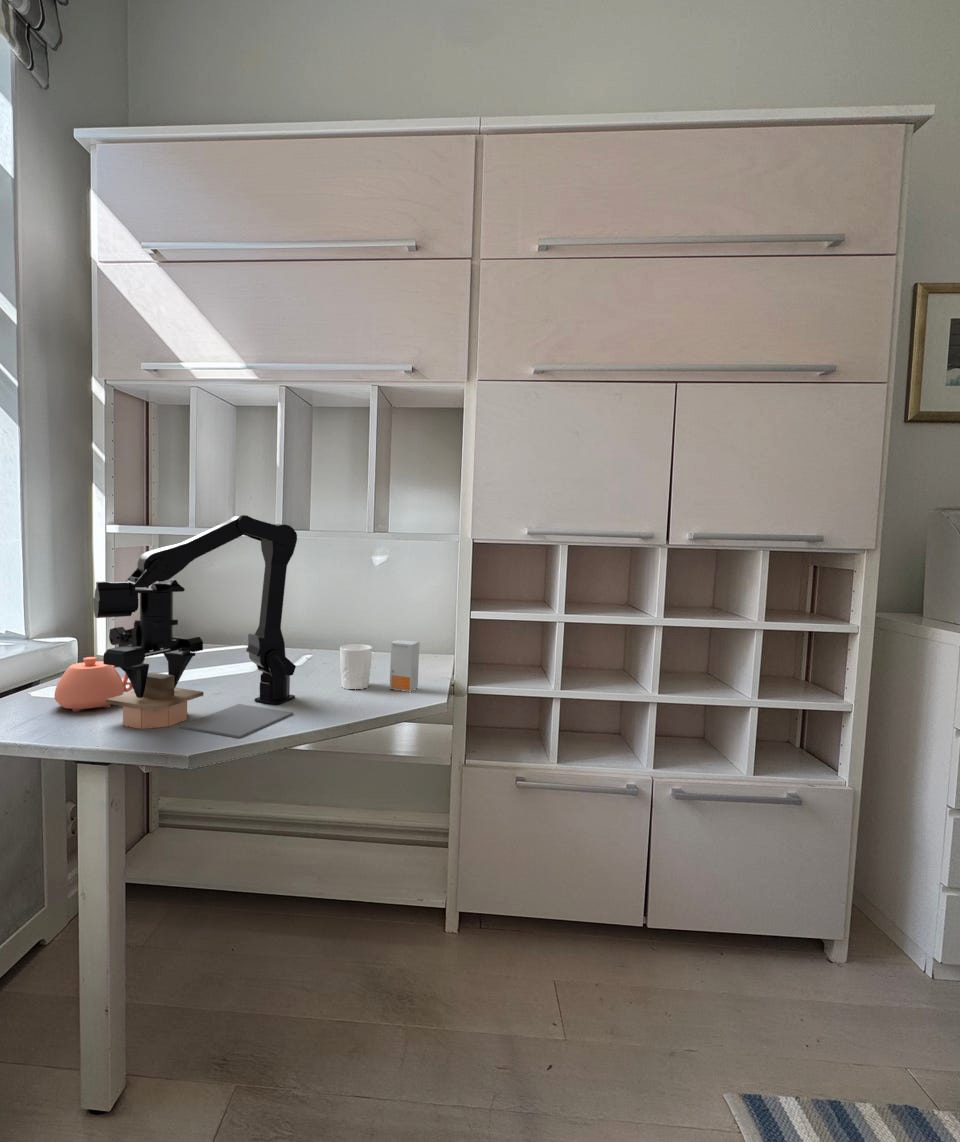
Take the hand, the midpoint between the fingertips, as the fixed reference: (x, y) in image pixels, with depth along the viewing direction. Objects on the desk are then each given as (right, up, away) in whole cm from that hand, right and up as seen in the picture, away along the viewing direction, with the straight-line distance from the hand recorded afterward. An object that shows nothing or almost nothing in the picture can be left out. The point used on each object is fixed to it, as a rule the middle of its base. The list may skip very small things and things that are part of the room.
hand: (156, 692), depth 117 cm
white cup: (+33, -5, +30) cm, 45 cm away
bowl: (0, -5, 0) cm, 5 cm away
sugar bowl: (-18, -5, +8) cm, 20 cm away
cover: (0, -1, 0) cm, 1 cm away
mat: (+16, -6, +1) cm, 17 cm away
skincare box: (+45, -6, +29) cm, 54 cm away
